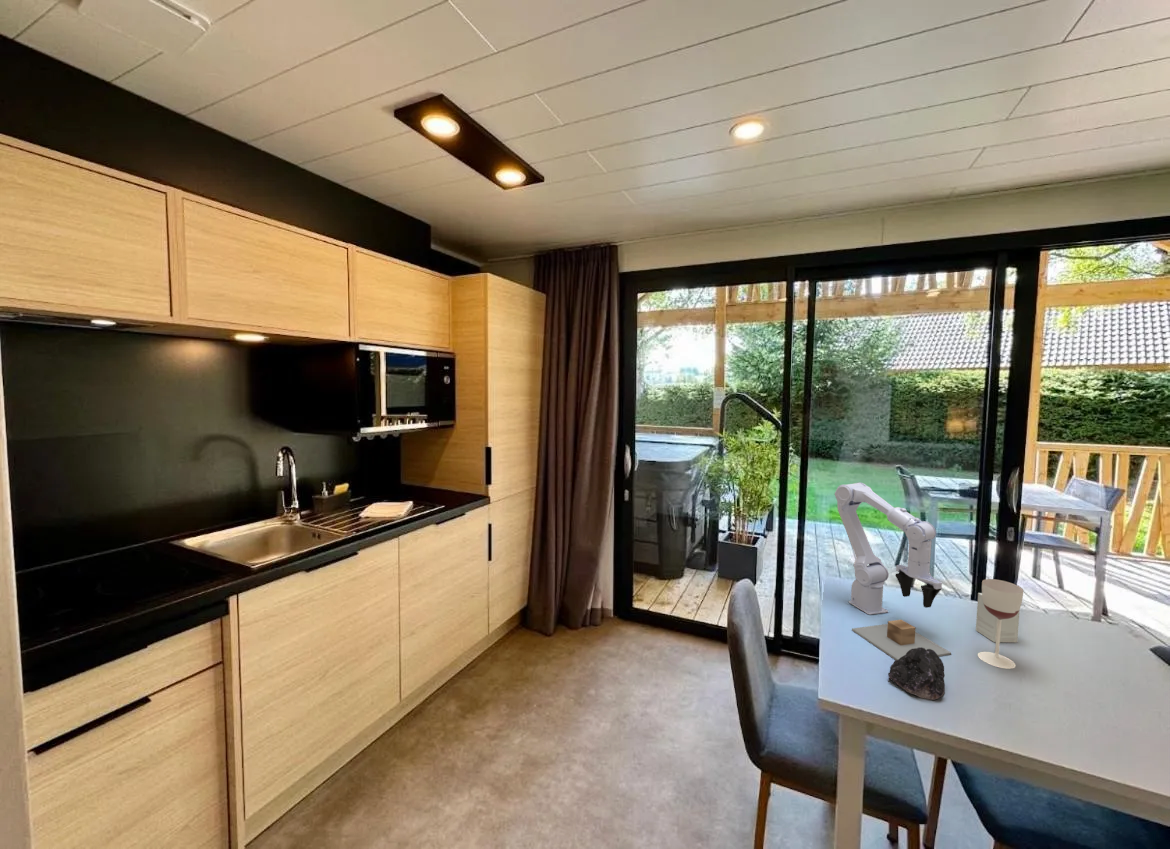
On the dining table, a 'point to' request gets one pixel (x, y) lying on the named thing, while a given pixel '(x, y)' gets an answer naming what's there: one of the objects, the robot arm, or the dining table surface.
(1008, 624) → the supplement box
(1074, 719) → the dining table surface
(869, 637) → the grey mat
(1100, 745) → the dining table surface
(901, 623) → the walnut cube
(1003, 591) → the wineglass
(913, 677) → the dark grey rock
